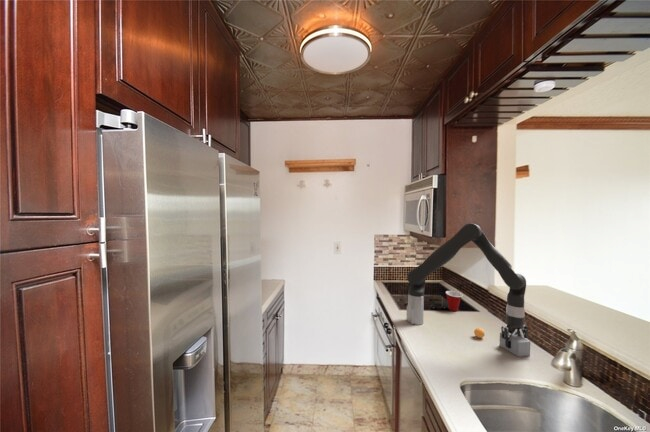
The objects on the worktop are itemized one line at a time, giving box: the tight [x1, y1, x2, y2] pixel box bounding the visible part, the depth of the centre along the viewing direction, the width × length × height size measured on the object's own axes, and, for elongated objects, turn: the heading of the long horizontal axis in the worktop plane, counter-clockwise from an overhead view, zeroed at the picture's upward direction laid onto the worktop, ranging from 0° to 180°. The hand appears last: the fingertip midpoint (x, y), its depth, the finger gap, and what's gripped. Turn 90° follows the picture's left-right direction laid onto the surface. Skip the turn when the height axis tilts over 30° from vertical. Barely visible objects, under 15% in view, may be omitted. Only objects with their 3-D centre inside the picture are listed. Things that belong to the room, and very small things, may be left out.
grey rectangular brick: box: [499, 332, 531, 358], centre depth 133 cm, size 7×11×7 cm, turn 12°
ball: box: [473, 327, 485, 339], centre depth 146 cm, size 5×5×5 cm
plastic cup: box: [445, 290, 463, 312], centre depth 187 cm, size 11×11×12 cm
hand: (514, 346), depth 133 cm, fingers closed on grey rectangular brick, 6 cm apart
